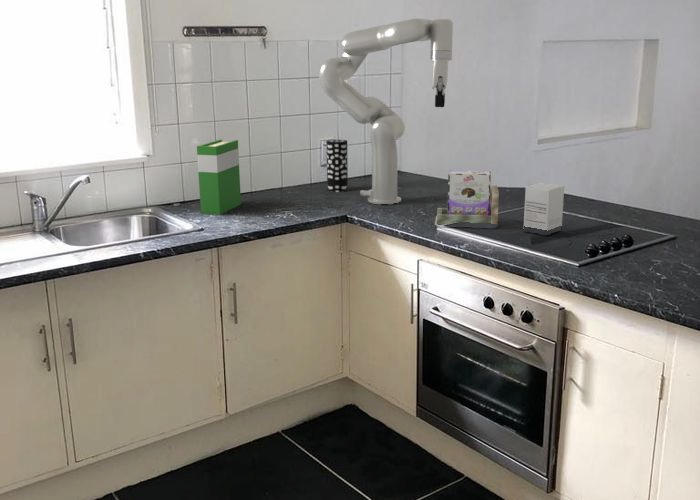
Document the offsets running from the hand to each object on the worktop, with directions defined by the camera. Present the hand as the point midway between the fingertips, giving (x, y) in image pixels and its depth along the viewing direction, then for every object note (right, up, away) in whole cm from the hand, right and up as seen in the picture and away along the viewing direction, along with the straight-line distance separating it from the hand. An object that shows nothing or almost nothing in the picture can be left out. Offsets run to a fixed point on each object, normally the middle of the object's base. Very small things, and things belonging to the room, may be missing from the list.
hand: (439, 105), depth 268 cm
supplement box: (+29, -46, -28) cm, 61 cm away
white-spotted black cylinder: (-37, -27, +39) cm, 60 cm away
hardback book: (-79, -36, +8) cm, 87 cm away
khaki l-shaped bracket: (+7, -43, -17) cm, 46 cm away
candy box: (+7, -42, -17) cm, 46 cm away
